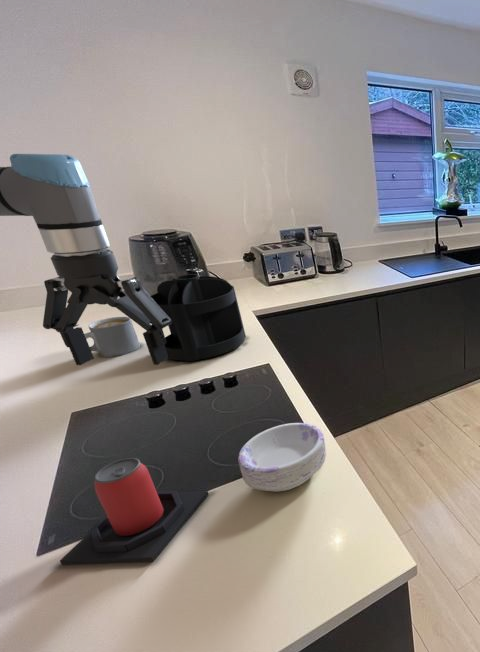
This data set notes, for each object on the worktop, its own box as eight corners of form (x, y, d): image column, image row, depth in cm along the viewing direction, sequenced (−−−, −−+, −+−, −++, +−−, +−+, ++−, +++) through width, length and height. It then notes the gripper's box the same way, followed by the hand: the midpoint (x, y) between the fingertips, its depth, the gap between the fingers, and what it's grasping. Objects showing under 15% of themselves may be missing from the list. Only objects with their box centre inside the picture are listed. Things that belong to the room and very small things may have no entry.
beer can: (123, 545, 66) (96, 490, 62) (109, 526, 70) (84, 472, 65) (171, 518, 71) (150, 465, 67) (156, 501, 75) (135, 450, 70)
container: (255, 348, 136) (238, 277, 127) (170, 370, 121) (144, 292, 112) (238, 329, 151) (222, 264, 141) (160, 346, 136) (136, 275, 126)
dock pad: (61, 565, 64) (55, 554, 63) (133, 496, 77) (128, 486, 76) (153, 561, 65) (148, 551, 64) (208, 494, 78) (205, 484, 77)
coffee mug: (137, 340, 139) (127, 314, 135) (143, 349, 133) (133, 322, 129) (82, 353, 130) (71, 325, 126) (86, 363, 124) (74, 334, 120)
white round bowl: (343, 456, 89) (338, 427, 86) (294, 510, 75) (286, 478, 72) (285, 444, 92) (278, 416, 89) (227, 494, 78) (217, 462, 75)
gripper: (174, 248, 72) (204, 352, 80) (26, 245, 70) (72, 352, 78) (141, 257, 65) (178, 370, 73) (-24, 255, 64) (32, 371, 71)
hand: (123, 361), depth 76 cm, fingers open, 13 cm apart
